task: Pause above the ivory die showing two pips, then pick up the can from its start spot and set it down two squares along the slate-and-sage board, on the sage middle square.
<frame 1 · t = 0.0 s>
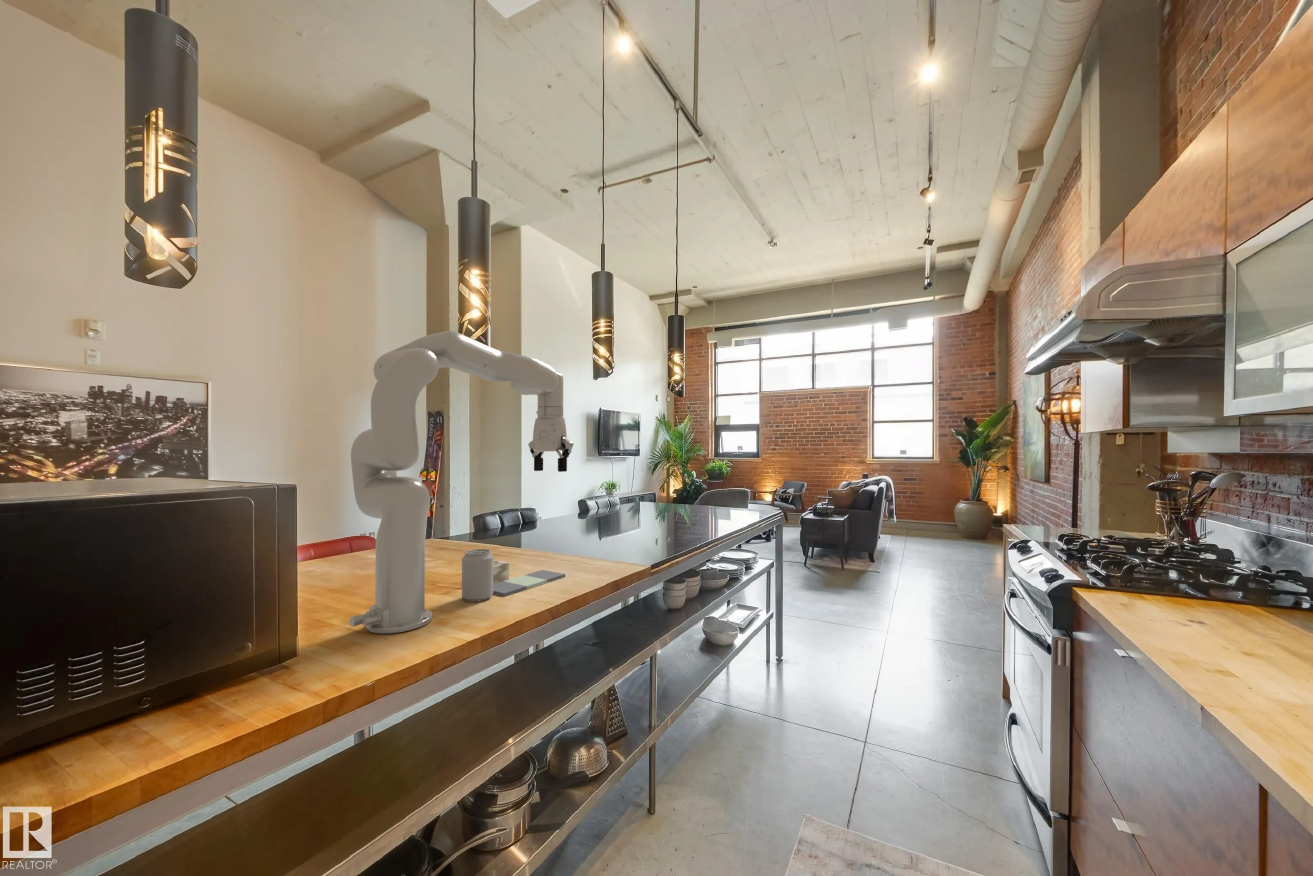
hand: (550, 471, 143), 31 cm above the table, tool pointing down, fingers open, 9 cm apart
board: (525, 583, 135), on the table
die: (496, 580, 138), on the table
can: (477, 599, 122), on the table
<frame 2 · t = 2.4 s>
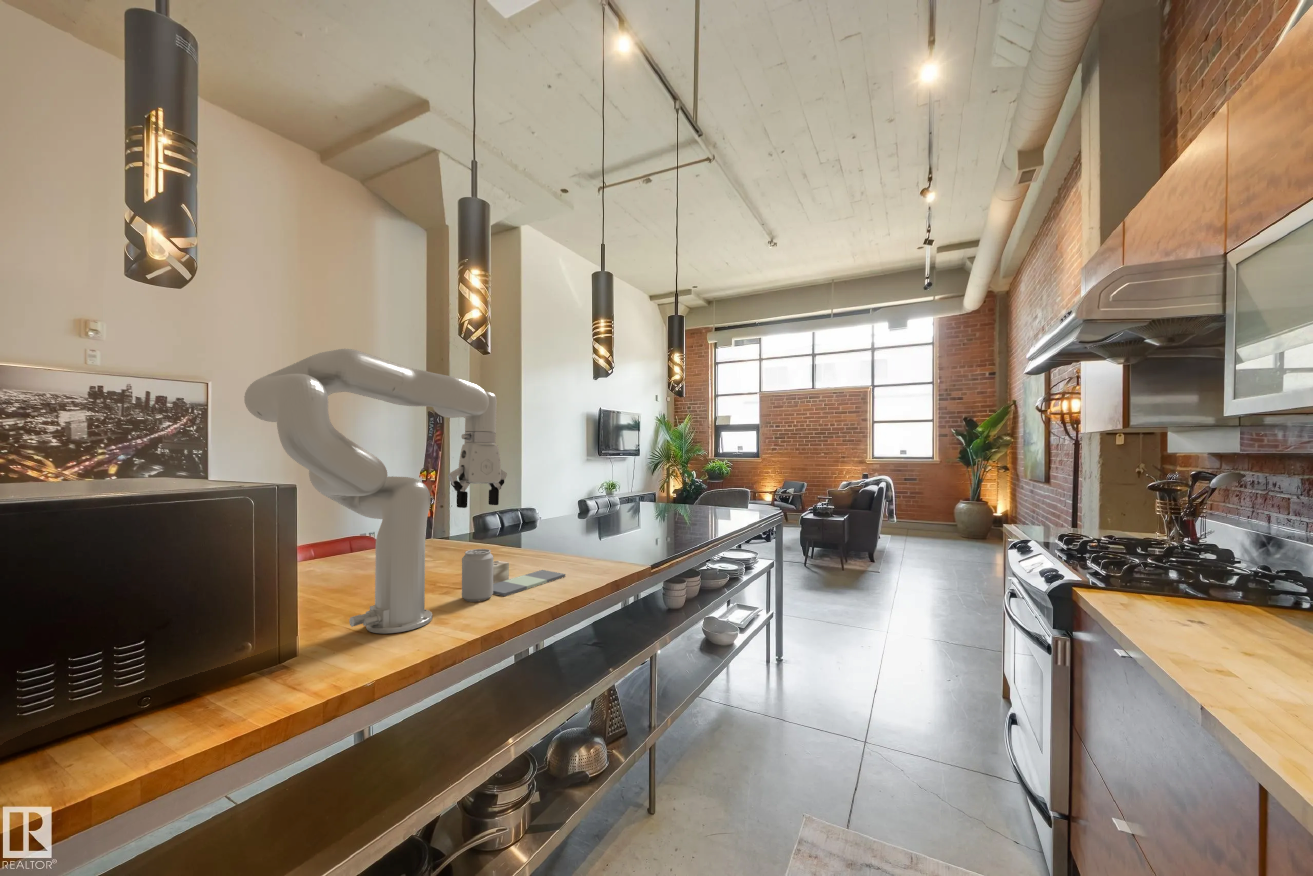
hand: (478, 506, 123), 23 cm above the table, tool pointing down, fingers open, 9 cm apart
nothing on the table moved.
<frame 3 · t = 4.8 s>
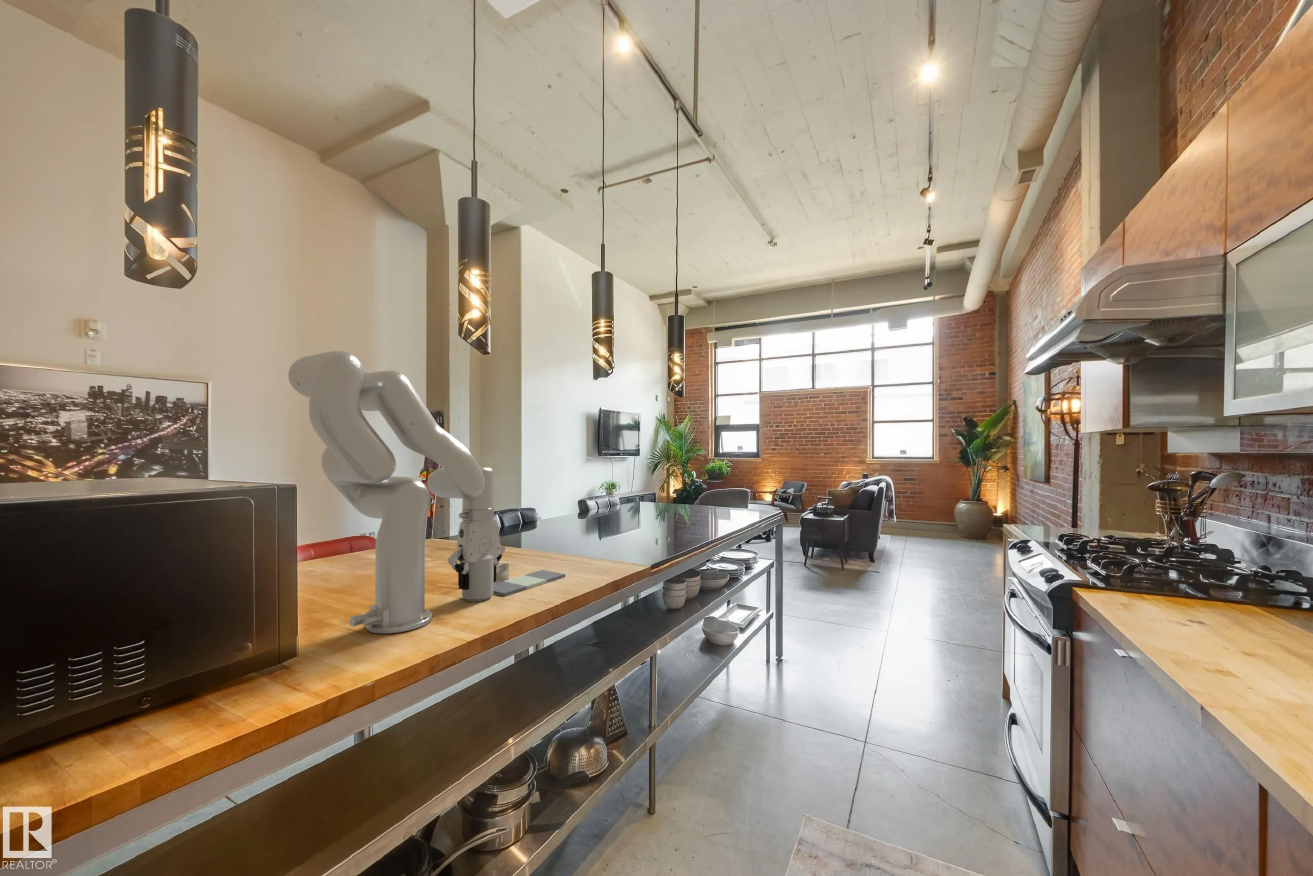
hand: (477, 584, 122), 3 cm above the table, tool pointing down, fingers closed on can, 7 cm apart
can: (477, 598, 122), on the table, touching gripper
everything else where it was.
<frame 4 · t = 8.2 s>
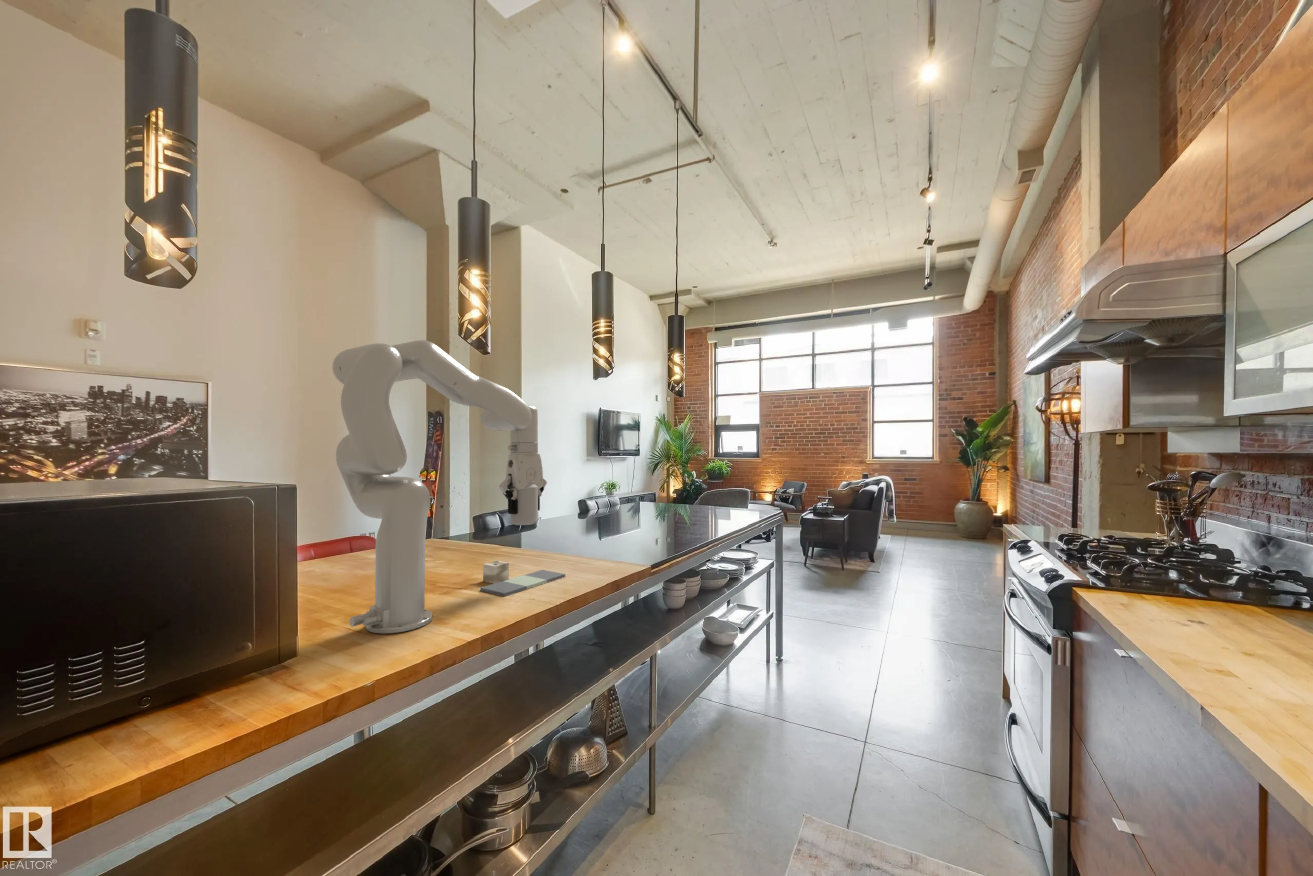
hand: (524, 511, 135), 20 cm above the table, tool pointing down, fingers closed on can, 7 cm apart
can: (524, 524, 135), point 17 cm above the table, touching gripper
everything else where it was.
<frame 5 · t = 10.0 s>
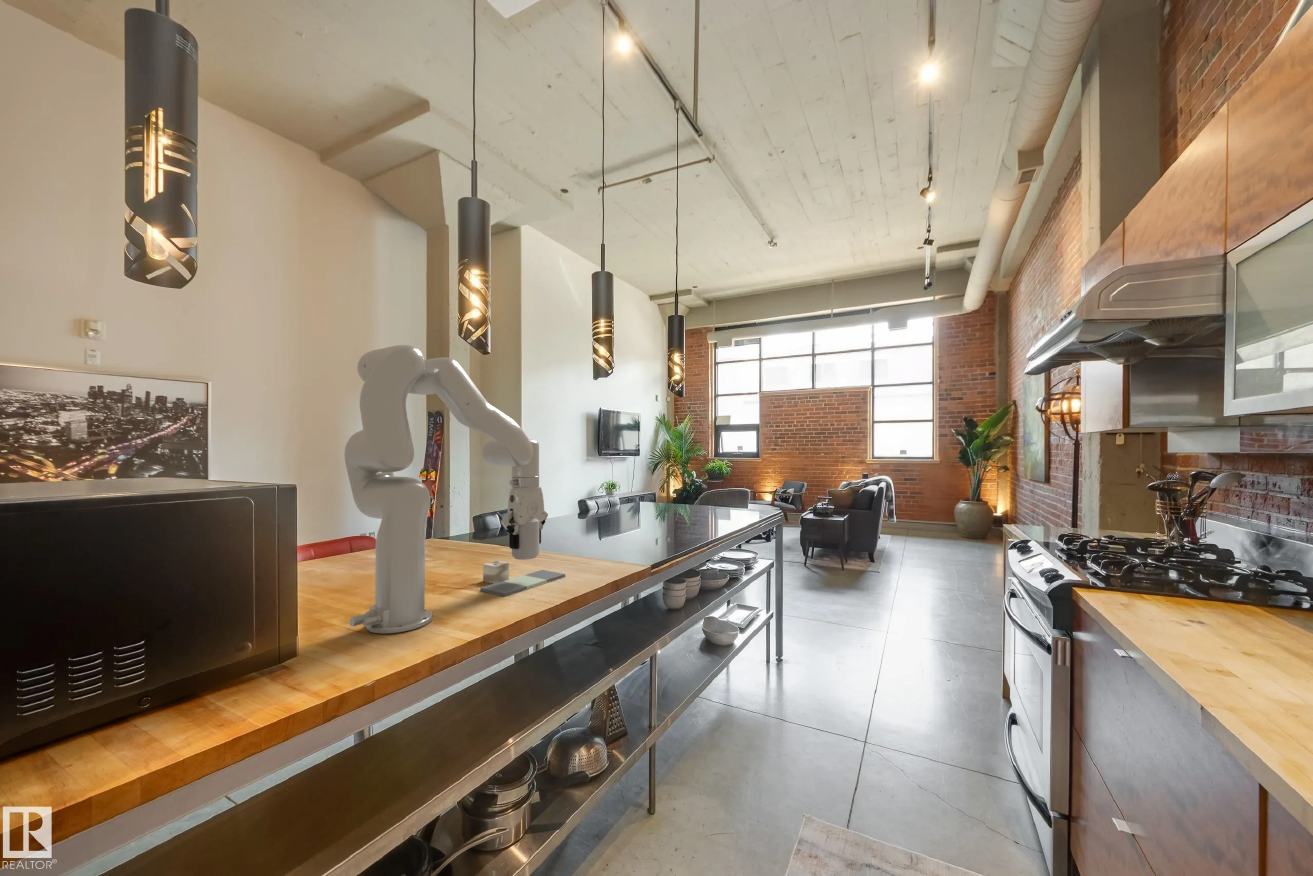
hand: (525, 545, 135), 11 cm above the table, tool pointing down, fingers closed on can, 7 cm apart
can: (525, 558, 135), point 7 cm above the table, touching gripper
everything else where it was.
when the fingers open (5 cm above the table, at t = 11.6 s): can drops 1 cm, resting on board.
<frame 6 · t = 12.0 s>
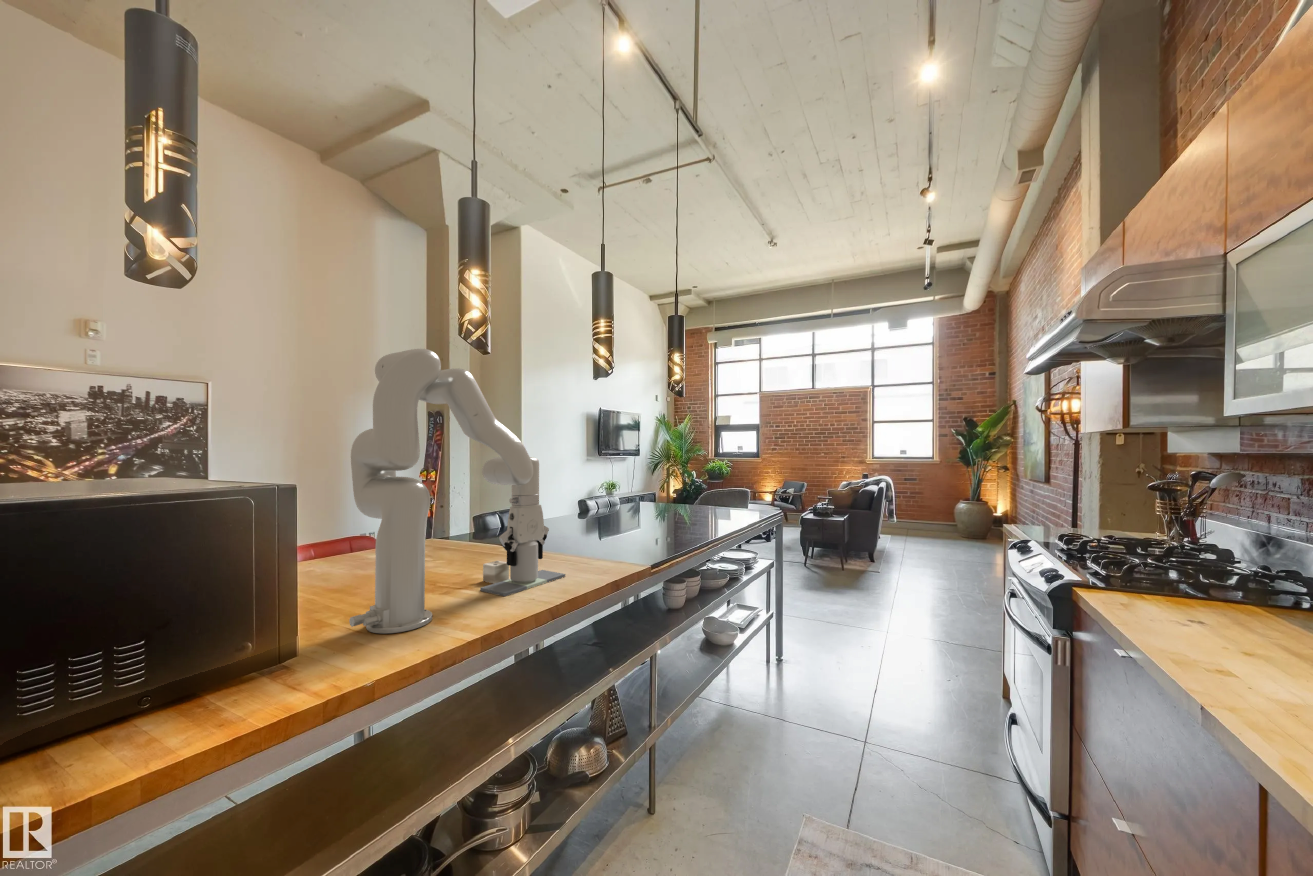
hand: (525, 561, 135), 6 cm above the table, tool pointing down, fingers open, 9 cm apart
can: (524, 581, 135), point 1 cm above the table, touching board
everything else where it was.
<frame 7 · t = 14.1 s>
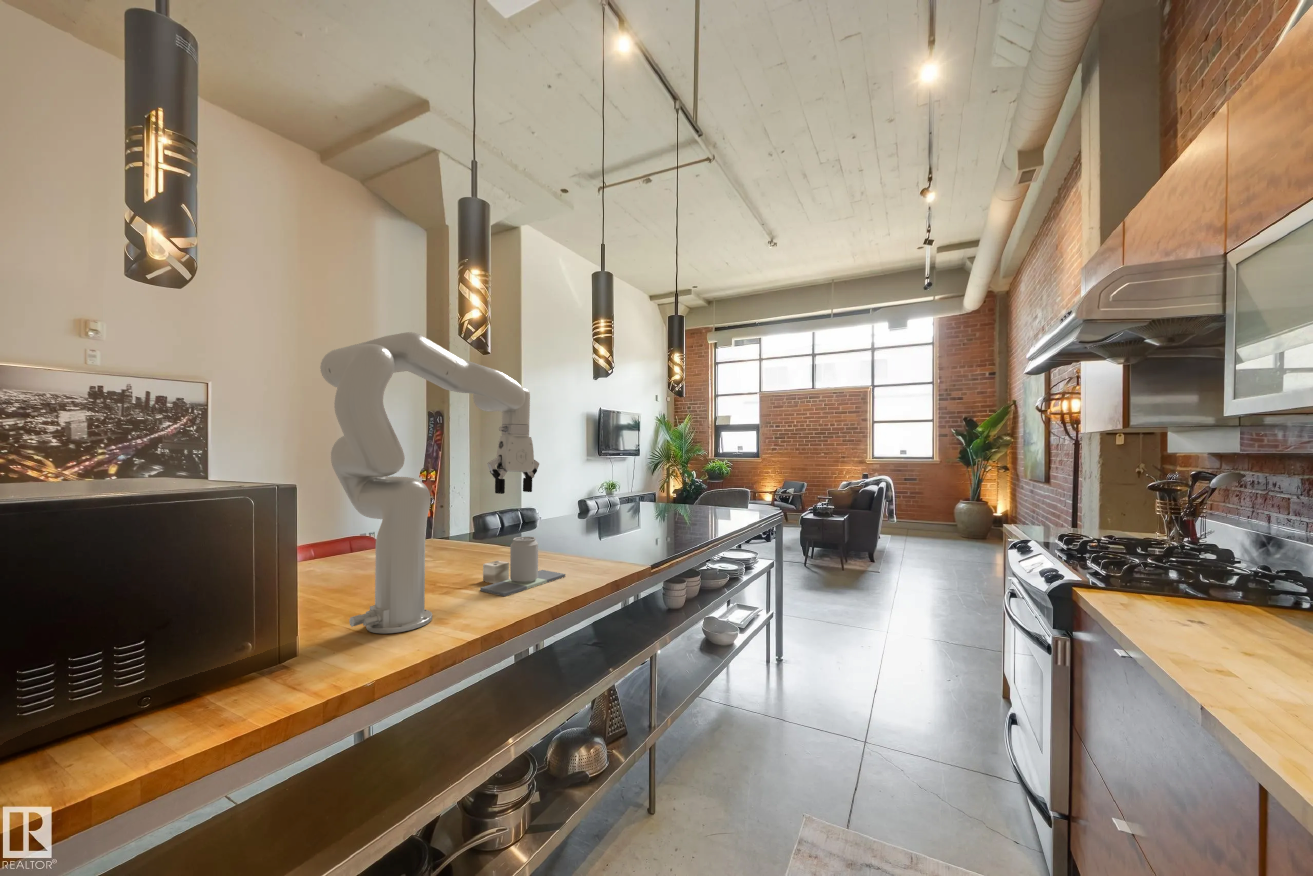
hand: (514, 492, 135), 26 cm above the table, tool pointing down, fingers open, 9 cm apart
nothing on the table moved.
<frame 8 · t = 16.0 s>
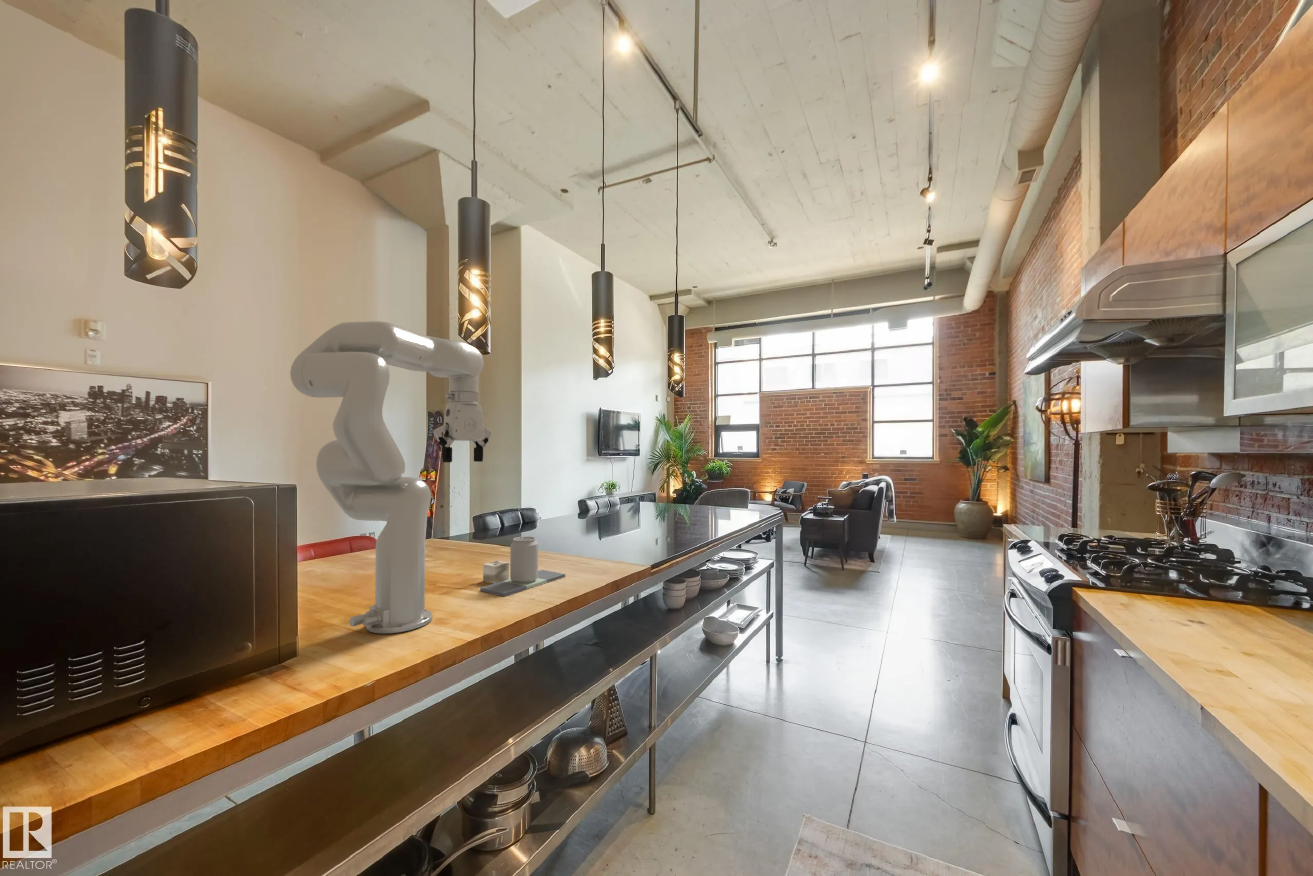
hand: (463, 461, 131), 34 cm above the table, tool pointing down, fingers open, 9 cm apart
nothing on the table moved.
at the end: can 0.3 cm off-centre on the board, point 0.6 cm above the board's base; can tilted 0°; the gripper is holding nothing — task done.
